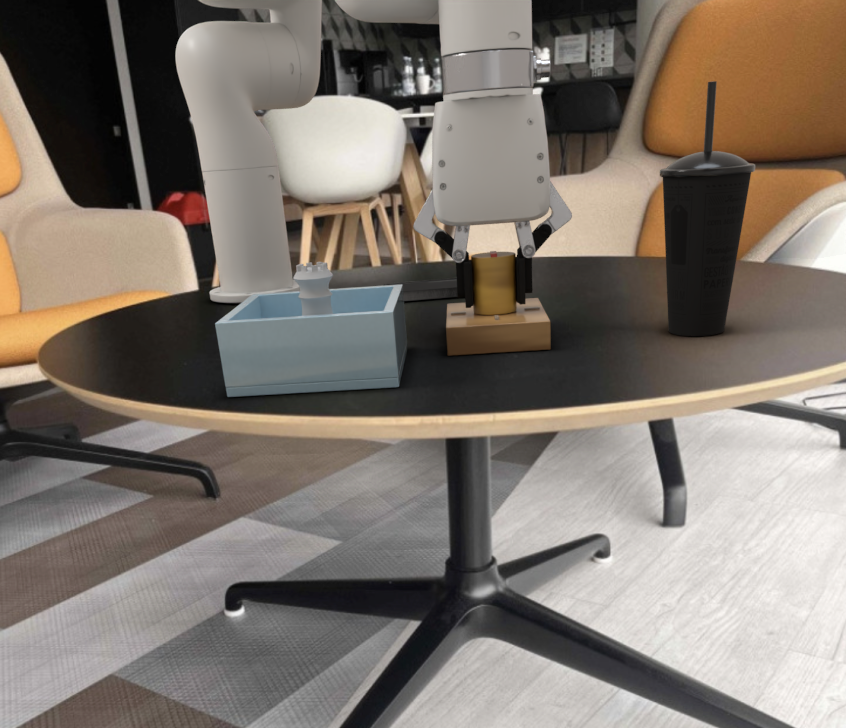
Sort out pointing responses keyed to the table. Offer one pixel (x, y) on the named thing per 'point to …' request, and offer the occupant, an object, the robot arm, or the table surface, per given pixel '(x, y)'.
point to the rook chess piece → (314, 288)
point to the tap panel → (497, 330)
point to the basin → (314, 343)
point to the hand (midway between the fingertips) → (494, 301)
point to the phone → (428, 289)
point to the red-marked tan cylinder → (494, 283)
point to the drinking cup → (703, 232)
